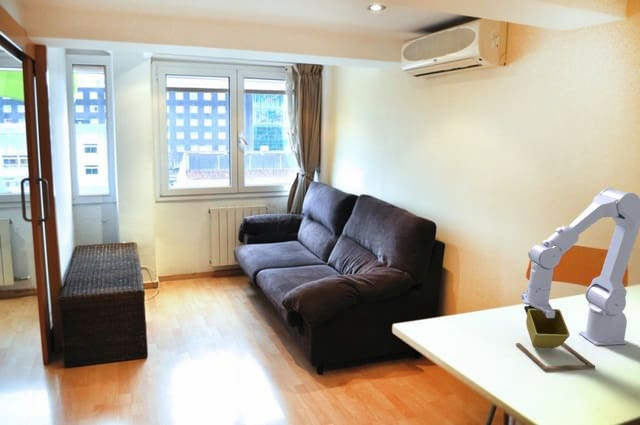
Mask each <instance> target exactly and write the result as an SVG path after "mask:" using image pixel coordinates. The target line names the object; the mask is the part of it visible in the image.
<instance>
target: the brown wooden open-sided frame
mask: <svg viewBox="0 0 640 425" xmlns="http://www.w3.org/2000/svg"><path fill="white" fill-rule="evenodd" d="M515 346H516V347H517V348H518V349H519V350H520V351H521V353H523V354H525V355H526V356H527V358H529V359H530V360H531V361H532V362H533V363H534V364H535V365H536V366H538V367H539V369H541V370H542V371H543V372H553V371H557V372H559V371H579V370H595V369H596V365H595V364H593V363H592V362H591V361H590V360H588V359H587V358H585V357H584V356H583V355H581V354H580V353H579V352H578V351H576V350H575V349H573V348H572V347H570V345H568V344H567V343H566V342H564V343H563V344H562V345H561V346H560V347H562V348H563V349H564V350H566V351H567V352H569V353H570V354H571V355H573V356H574V357H575V358H577V360H579V361H580V362H581V363H583V364H563V365H545V364H544V363H543V362H542V361H541V360H539V359H538V358H537V357H536V356H535V355H534V354H533V353H531V352H530V351H529V350H528V349H527V348H526V347H525V346H524V345H523V344H521V343H520V342H517V343H515Z"/></svg>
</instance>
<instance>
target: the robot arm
mask: <svg viewBox="0 0 640 425" xmlns="http://www.w3.org/2000/svg"><path fill="white" fill-rule="evenodd" d="M602 218H612V219H613V221H614V223H615V224H616V225H615V229H614V231H613V235H612V237H611V241H610V243H609V247H608V251H607V253H606V256H605V259H604V261H603V262H604V263H603V266H602V270H601V272H600V275H599V276H596V277H594V278H593V279H592V281H591V283H590V285H589V286H588V287H587V289H586V290H585V294H584V296H585V300H586V301H587V302H588V306H587V307H589V309H588V314H587V316H588V317H587V324H586V331H578V334H579V335H581V336H582V337H583V338H585V339H587V341H589V342H591V343H592V344H594V345H595V346H609V345H610V346H611V345H613V346H614V345H615V346H616V345H626V344H627V342H626V341H625V338H626V331H627V324H628V321H627V320H628V319H627V316H626V315H625V313H624V312H623V311H624V310H625V308H626V305H627V301H626V300H627V299H626V296H627V293H628V291H627V289H626V287H625V286H624V283H623V280H624V276H625V274H626V271H627V267H628V264H629V263H630V262H629V261H630V258H631V255H632V252H633V250H634V249H633V248H634V246H635V243H636V240H637V236H638V234H639V231H640V197H639V195H637V194H636V193H634V192H627V191H623V190H618V189H614V188H611V187H610V188H609V187H608V188H605V189H603V190H602V191H600V192H599V194H597V195H595V196H594V198H593V200H592V203H591V204H590V205H589V206H588V207H587V208H586V209H585V210H584V211H582V213H580V215H579V216H578V217H577V218H575V219H574V220H573V221H572V222H571V223H570V224H569V225H562V226H561V227H557V228H556V229H554V233H552V234H551V235H550V236H549V237H548V238H546V239H544V240H543V241H542V243H538V244H536V245H534V246H532V248H531V249H530V251H529V252H528V258H529V260H530V262H531V263H530V272H529V282H528V288H527V291H521V292H520V299H521V300H522V303H523V304H524V305H525V306H524V308H523V309H524V311H525V314H526V315H527V313H528V309H539V310H542V313H544V314H545V315H546V317H547V318H554V317H555V311H554V310H553V309H554V308H552V306H551V304H550V295H551V288H552V281H553V277H554V276H553V275H554V268H555V267H557V266H558V265H559V264H560V262H561V259H562V257H563V255H564V254H565V253H566V252H567V251H568V250H570V249H571V248H572V247H573V246H574V245H575V244H577V243H578V242H579V236H580V235H581V234H582V233H583V232H585V231H586V230H587V229H589V228H590V227H592V226H593V225H594V224H595V223H597V222H598V221H600V219H602Z"/></svg>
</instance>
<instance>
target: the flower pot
mask: <svg viewBox="0 0 640 425" xmlns="http://www.w3.org/2000/svg"><path fill="white" fill-rule="evenodd" d="M552 309H553V310H554V311H555V317H554V318H547V317H546V315H545V314H544V313H542V310H539V309H528V313H527V314H526V329H527V332H528V334H529V339H530V341H531V345H532V347H533V348H534V349H551V350H552V349H556V348H559V347H562V346H561V345H562V344H563V343H566V341H567V339H568V338H569V337H570V332H569V329H568V326H567V324H566V321H565V318H564V317H563V313H562V311H561V310H560V309H558V308H552Z"/></svg>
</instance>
